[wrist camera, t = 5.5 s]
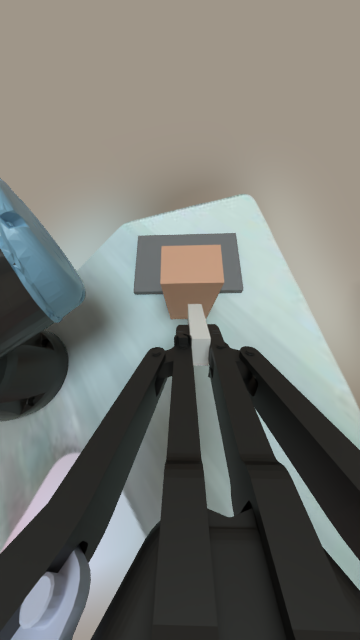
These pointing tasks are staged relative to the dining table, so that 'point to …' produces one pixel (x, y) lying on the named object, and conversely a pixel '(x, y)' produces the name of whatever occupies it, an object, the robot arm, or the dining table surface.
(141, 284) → the rubber mat
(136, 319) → the dining table surface
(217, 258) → the tall block
